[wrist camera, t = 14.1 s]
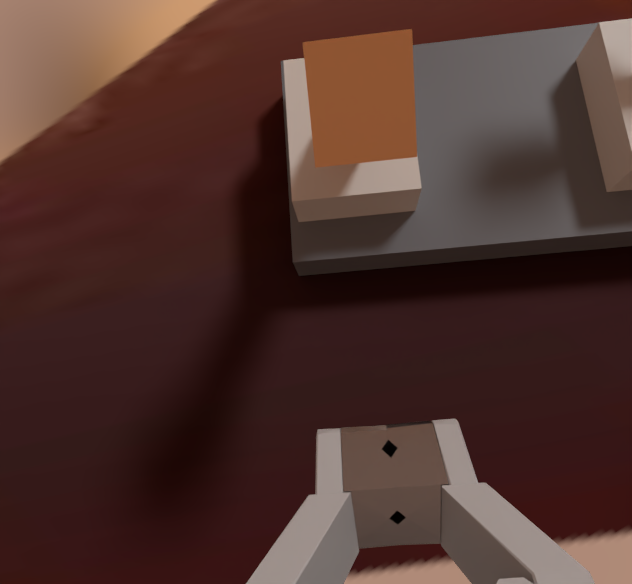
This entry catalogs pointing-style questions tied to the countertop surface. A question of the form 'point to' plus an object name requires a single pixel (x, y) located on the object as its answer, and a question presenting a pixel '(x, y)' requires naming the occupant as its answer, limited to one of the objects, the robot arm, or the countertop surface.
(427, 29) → the countertop surface
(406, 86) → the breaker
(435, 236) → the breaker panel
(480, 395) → the countertop surface
